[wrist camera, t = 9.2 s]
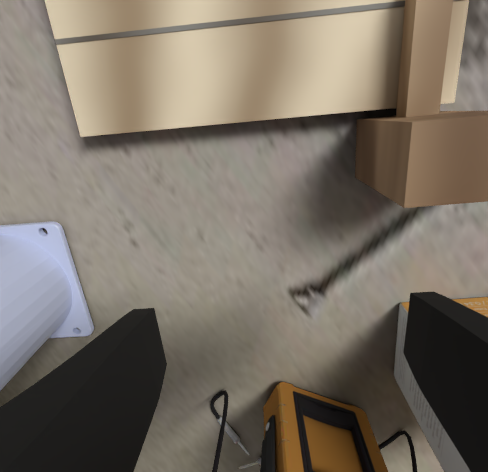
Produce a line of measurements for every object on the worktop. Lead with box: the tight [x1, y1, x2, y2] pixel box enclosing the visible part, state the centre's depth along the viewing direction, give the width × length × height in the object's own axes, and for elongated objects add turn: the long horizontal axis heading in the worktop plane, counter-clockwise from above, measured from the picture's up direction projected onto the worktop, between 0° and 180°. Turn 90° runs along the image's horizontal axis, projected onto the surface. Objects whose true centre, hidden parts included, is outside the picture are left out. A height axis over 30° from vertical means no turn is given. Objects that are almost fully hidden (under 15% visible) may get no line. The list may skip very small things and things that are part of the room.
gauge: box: [355, 0, 488, 208], centre depth 13 cm, size 4×8×6 cm, turn 5°
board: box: [45, 0, 469, 137], centre depth 14 cm, size 18×8×1 cm, turn 95°
